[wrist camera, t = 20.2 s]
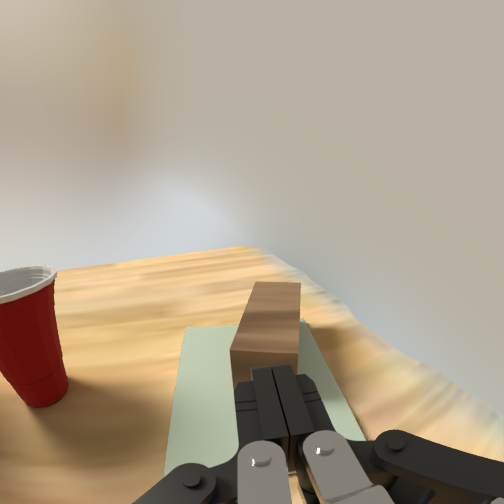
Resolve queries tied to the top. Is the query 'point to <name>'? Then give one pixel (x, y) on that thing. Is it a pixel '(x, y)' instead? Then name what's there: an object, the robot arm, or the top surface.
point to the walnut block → (267, 330)
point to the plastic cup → (31, 335)
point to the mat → (222, 397)
